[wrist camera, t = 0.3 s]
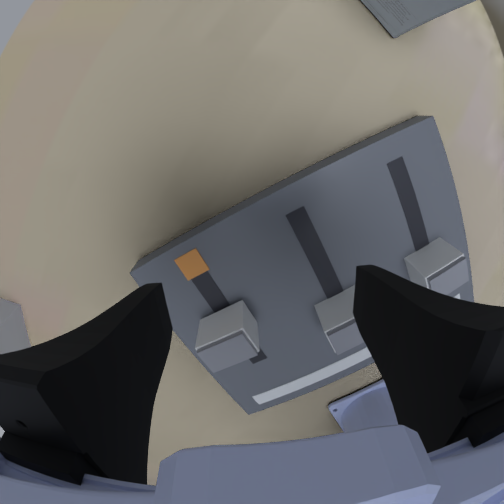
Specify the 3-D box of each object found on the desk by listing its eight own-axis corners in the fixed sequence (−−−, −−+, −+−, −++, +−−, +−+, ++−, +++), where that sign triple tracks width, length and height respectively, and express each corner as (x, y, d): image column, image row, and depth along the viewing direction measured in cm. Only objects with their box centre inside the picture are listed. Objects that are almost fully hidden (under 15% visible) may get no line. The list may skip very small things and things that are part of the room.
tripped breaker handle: (257, 322, 20) (260, 355, 17) (216, 340, 21) (212, 374, 18) (242, 299, 20) (242, 331, 16) (200, 319, 20) (194, 352, 17)
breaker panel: (462, 291, 23) (495, 323, 18) (247, 398, 27) (249, 445, 22) (417, 115, 18) (465, 117, 13) (138, 260, 21) (111, 299, 16)
